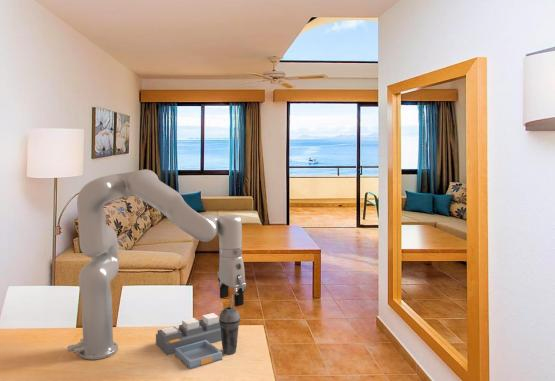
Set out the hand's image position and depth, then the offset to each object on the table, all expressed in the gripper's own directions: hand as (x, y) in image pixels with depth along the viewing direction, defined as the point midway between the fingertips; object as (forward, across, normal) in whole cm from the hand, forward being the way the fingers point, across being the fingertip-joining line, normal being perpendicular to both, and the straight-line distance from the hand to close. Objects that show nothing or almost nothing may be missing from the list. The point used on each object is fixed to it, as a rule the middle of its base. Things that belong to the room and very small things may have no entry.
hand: (231, 301), depth 159 cm
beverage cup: (+18, 0, +1) cm, 18 cm away
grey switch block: (+17, +14, +9) cm, 24 cm away
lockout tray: (+18, +2, +12) cm, 21 cm away
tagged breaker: (+13, +14, +17) cm, 26 cm away
